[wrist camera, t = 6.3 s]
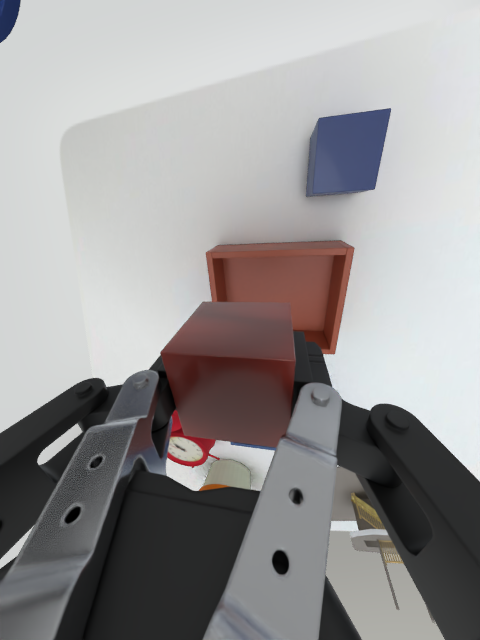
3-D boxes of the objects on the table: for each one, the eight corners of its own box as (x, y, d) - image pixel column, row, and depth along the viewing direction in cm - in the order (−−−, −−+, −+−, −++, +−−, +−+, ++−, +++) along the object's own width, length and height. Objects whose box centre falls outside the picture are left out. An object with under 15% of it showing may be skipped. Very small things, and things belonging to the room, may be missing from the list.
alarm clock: (188, 473, 42) (121, 449, 35) (194, 440, 47) (136, 413, 40) (226, 462, 38) (159, 432, 31) (228, 427, 43) (171, 394, 36)
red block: (212, 368, 13) (183, 435, 9) (202, 301, 11) (159, 352, 7) (286, 373, 12) (288, 449, 8) (290, 302, 10) (296, 360, 6)
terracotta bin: (226, 329, 29) (218, 348, 25) (217, 245, 24) (205, 252, 20) (326, 333, 27) (334, 354, 23) (341, 240, 22) (354, 247, 18)
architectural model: (292, 470, 42) (298, 578, 30) (442, 458, 34) (536, 601, 21) (324, 520, 50) (338, 623, 37) (453, 520, 41) (527, 653, 29)
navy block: (305, 196, 20) (312, 194, 16) (310, 136, 18) (318, 117, 14) (355, 192, 20) (375, 189, 16) (366, 130, 17) (391, 107, 14)
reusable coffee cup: (262, 461, 43) (254, 573, 30) (255, 491, 49) (246, 595, 36) (202, 449, 44) (170, 550, 31) (203, 479, 50) (176, 574, 37)
